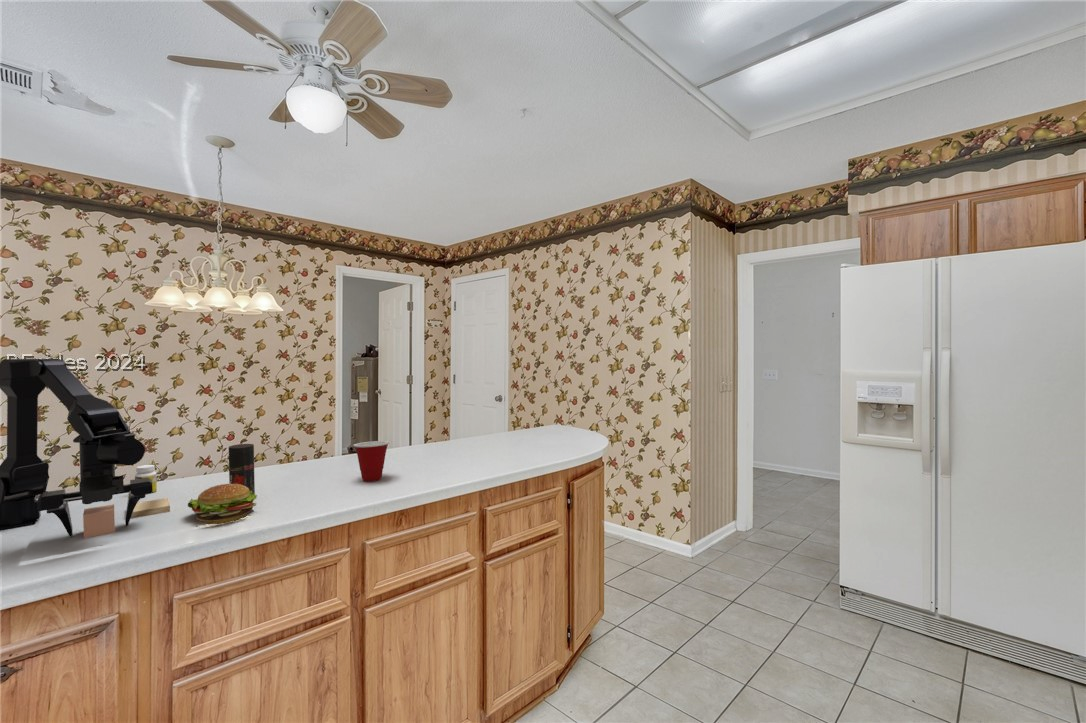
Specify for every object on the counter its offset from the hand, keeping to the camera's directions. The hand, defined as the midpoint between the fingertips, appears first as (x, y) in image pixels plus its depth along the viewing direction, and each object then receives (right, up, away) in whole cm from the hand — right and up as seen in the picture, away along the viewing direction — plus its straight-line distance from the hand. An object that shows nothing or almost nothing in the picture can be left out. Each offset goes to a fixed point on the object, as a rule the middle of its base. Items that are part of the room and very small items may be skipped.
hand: (99, 530), depth 108 cm
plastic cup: (+45, 0, +45) cm, 64 cm away
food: (+20, -1, +12) cm, 23 cm away
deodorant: (+16, 0, +25) cm, 30 cm away
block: (0, -1, 0) cm, 1 cm away
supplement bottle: (-13, 0, +28) cm, 31 cm away
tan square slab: (0, 0, +14) cm, 14 cm away
